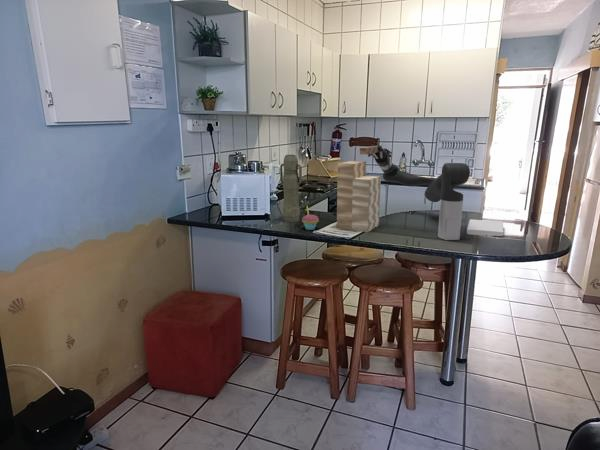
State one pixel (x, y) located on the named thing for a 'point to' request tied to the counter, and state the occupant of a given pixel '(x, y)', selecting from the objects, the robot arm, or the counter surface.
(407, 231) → the counter surface
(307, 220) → the cupcake
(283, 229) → the counter surface
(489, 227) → the food packaging
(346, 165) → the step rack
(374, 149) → the walnut bar
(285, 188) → the thermos
